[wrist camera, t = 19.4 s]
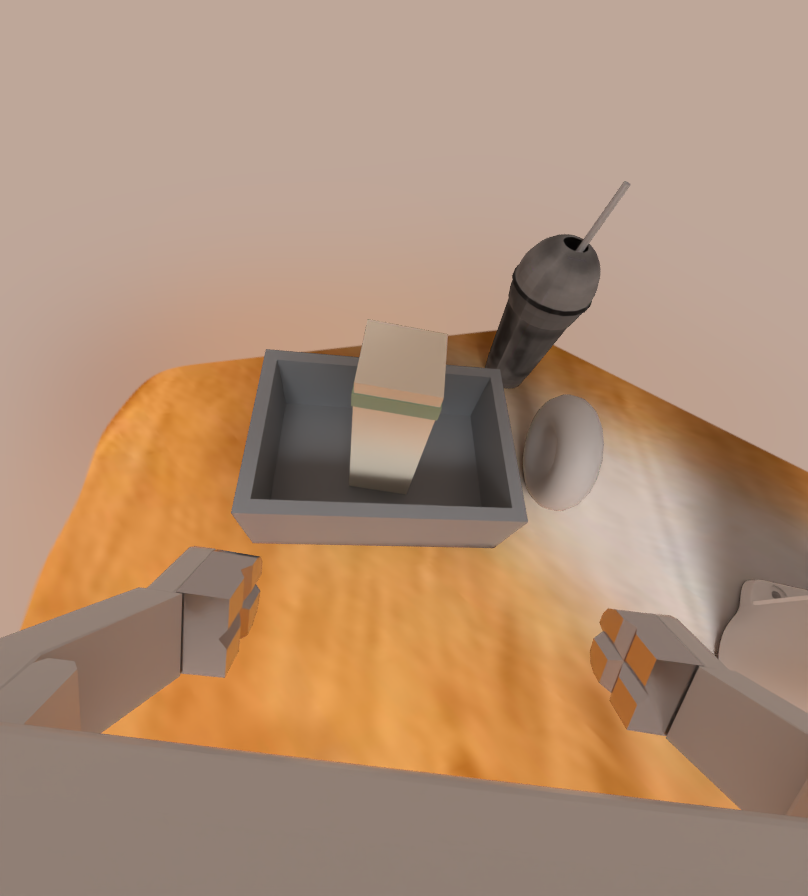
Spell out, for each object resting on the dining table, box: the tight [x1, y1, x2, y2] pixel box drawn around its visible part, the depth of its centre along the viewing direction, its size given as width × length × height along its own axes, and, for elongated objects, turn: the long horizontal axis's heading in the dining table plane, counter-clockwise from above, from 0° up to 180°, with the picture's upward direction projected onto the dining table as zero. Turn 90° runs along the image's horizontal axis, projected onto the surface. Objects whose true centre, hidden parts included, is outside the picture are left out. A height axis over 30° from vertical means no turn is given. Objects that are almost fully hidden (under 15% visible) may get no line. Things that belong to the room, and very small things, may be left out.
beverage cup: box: [485, 181, 630, 388], centre depth 35 cm, size 7×7×20 cm
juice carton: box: [349, 319, 448, 494], centre depth 28 cm, size 5×5×14 cm
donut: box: [523, 395, 604, 511], centre depth 33 cm, size 10×3×10 cm, turn 175°
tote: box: [231, 349, 528, 548], centre depth 32 cm, size 20×14×7 cm
